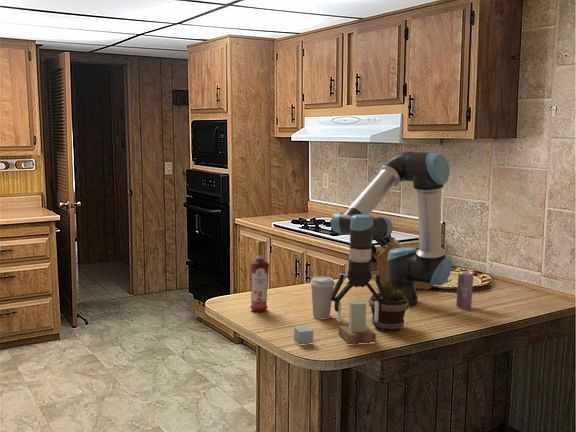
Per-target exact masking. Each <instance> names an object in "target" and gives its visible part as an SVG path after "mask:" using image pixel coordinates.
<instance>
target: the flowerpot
mask: <svg viewBox="0 0 576 432" xmlns="http://www.w3.org/2000/svg"><path fill="white" fill-rule="evenodd" d="M380 282H381V285H382V287H383V290H384V292H385V294H386V297H387V301H383V303H382V308H381V311H379V312H378V321H375V319H374V314H375V301H378V300H377V299H376V298H375V296H374V295H373V294H371V297H369V298H368V305H369V307H370V309H371V314H372V317H371V323H372V325H373V326H375V327H376V328H375V327H374V328H375V329H377V328H378V329H377V330H379V329H381V330H380V331H383V330H384V332H398V331H400V330H401V329H402V327H404V325H405V319H404V317H405V315H406V311H407V310H408V309H409V302H408V300H407V299H406V297H405V296H404V295H403V294H402V292H400V291H398V290H397V291H393V292H392V290H394V289H393V288H394V286H393V287H392V282H389V279H388V281H387V278H386V280H383V282H382V281H380ZM376 293H377V294H378V296H379V297H380V298H381V297H382V296H381V293H380V291H379V289H378V286H377V292H376ZM397 330H398V331H397Z"/></svg>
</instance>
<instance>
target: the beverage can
mask: <svg viewBox="0 0 576 432" xmlns="http://www.w3.org/2000/svg"><path fill="white" fill-rule="evenodd" d="M457 275H458V276H457V277H458V278H457V290H456V304H455V306H456V308H457V309H459V310H466V311H467V310H470V309H471V308H472V301H473V300H472V299H473V288H474V287H473V286H474V272H472V271H470V270H460V271H459V272H458V274H457Z"/></svg>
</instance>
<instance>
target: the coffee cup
mask: <svg viewBox="0 0 576 432" xmlns="http://www.w3.org/2000/svg"><path fill="white" fill-rule="evenodd" d="M309 285H310V287H311V305H312V316H314V317H315V318H314V317H313V318H314V319H317V318H327V319H329V318H330V317H331V309H332V302H333V301H331V300H330V295H331V293H332V291H333V289H334V287H335V285H336V283H335V281H334V279H333V278H332V277H330V276H325V275H324V276H323V275H322V276H313V277H312V279H311V281H310V282H309ZM328 317H329V318H328Z"/></svg>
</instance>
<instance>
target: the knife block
mask: <svg viewBox="0 0 576 432" xmlns="http://www.w3.org/2000/svg"><path fill="white" fill-rule="evenodd" d="M391 236H392V235H391V234H390V235H389V236H388V237H386V238H384V239H378V240H374V241H375V242H376V243H377V244H378V245H379V246H380V247H381V248H380V249H378V248H377V247H376V245H375V244H373V243H372V250H371V260H370V261H371V264H373V266H375V267H376V268H377V272H376V273H378V274H379V276H380V281H382V282H383V280H386V278H387V263H388V260H387V259H388V253H389V251H390V250H392V249H395V248H405V247H404V246H403V245H402V244H401V243H400V241H398V240H397V239H396V238H395V237H393V236H392V237H391ZM434 286H435V285H431V284H426V283H422V282H417V281H415V289H421V290H424V291H425V290H430V289H431V288H433V287H434Z"/></svg>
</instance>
